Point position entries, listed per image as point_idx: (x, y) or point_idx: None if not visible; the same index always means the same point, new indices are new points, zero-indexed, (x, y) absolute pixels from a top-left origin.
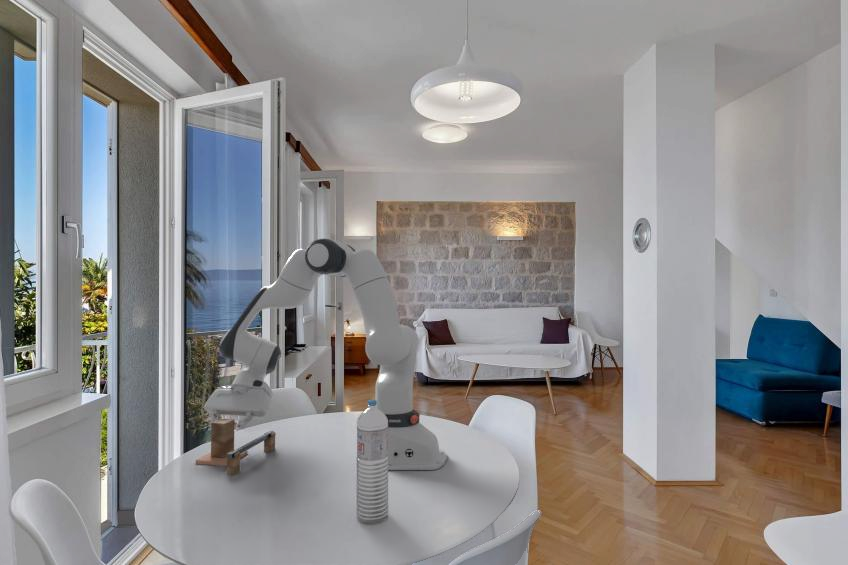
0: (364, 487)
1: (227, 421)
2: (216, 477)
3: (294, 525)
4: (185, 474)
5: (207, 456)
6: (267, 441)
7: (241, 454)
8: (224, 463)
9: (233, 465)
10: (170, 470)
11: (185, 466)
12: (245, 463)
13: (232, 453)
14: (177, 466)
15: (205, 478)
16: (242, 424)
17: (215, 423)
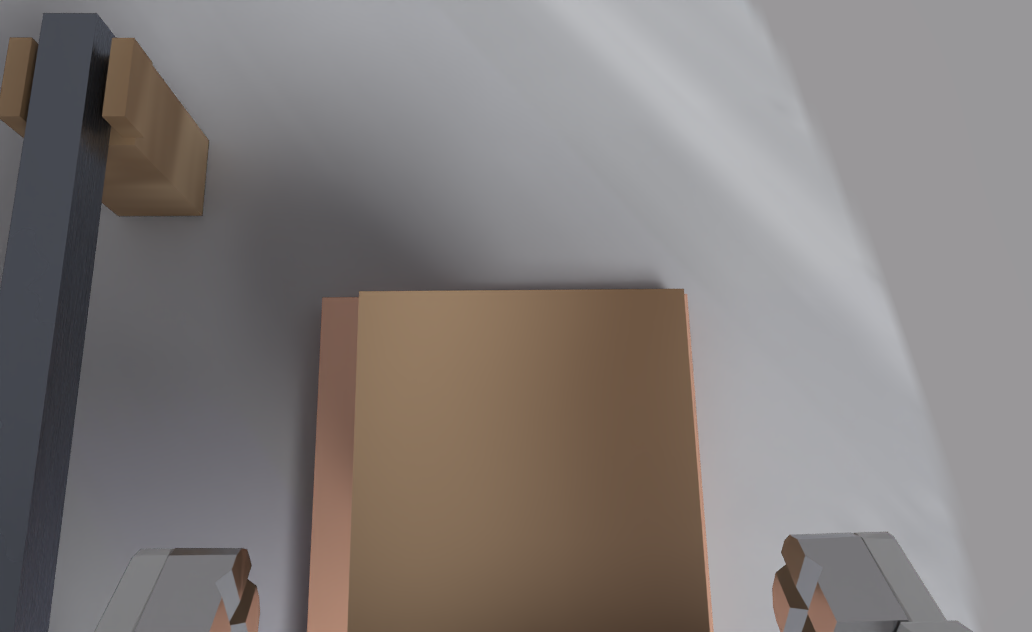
0: None
1: (405, 450)
2: (260, 72)
3: None
4: (571, 77)
5: None
6: None
7: (310, 565)
8: (347, 298)
9: None
10: (770, 124)
11: (717, 226)
12: (177, 413)
13: (49, 29)
14: (790, 212)
15: (341, 40)
16: (126, 577)
17: (581, 293)
